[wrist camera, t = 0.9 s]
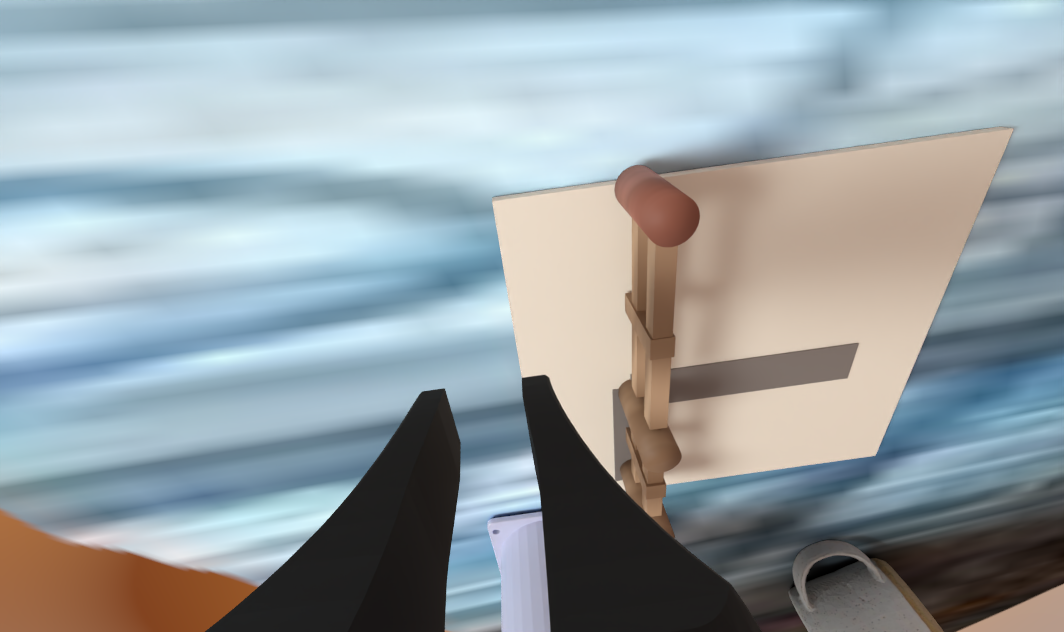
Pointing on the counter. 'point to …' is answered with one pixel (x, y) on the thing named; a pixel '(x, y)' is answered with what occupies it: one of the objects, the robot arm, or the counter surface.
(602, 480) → the robot arm
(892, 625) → the ceramic mug
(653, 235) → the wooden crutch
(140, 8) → the counter surface
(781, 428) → the card
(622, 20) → the counter surface
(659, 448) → the frame
